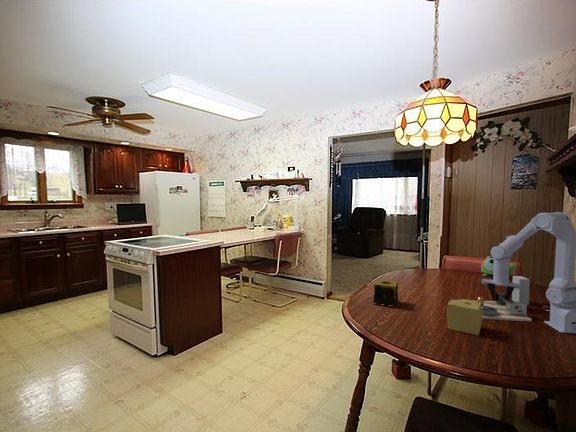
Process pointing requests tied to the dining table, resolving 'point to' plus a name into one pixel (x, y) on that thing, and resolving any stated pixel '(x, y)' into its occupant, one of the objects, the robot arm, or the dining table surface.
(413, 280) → the dining table surface
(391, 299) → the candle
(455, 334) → the dining table surface
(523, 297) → the skincare box
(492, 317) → the board
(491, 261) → the turtle holder
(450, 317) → the cheese
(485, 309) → the handwheel
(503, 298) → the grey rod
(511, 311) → the block
